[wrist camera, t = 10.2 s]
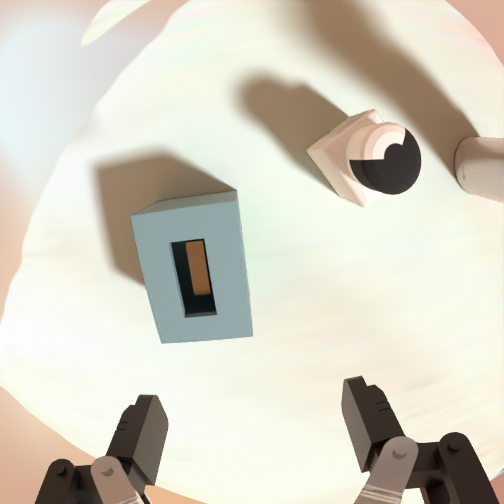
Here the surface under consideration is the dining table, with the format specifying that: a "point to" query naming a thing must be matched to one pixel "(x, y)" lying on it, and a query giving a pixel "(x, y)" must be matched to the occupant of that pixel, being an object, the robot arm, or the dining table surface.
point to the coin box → (178, 271)
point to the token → (199, 266)
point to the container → (367, 158)
